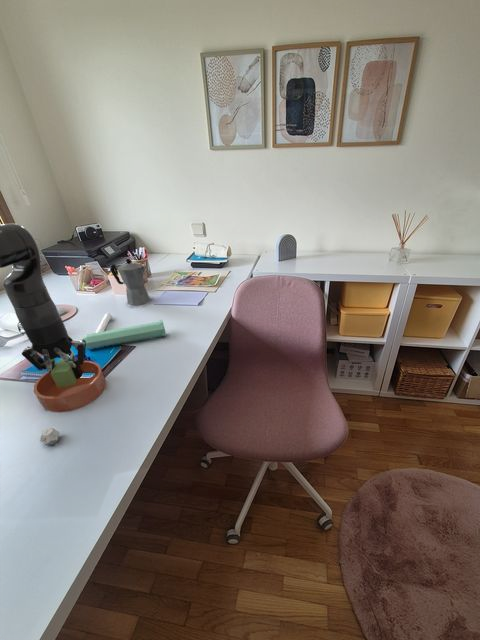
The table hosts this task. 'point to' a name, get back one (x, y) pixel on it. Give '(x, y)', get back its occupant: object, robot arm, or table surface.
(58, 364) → the sponge
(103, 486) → the table surface
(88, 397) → the basin
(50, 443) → the grey rock
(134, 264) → the coffeepot
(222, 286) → the table surface
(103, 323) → the marker
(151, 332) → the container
